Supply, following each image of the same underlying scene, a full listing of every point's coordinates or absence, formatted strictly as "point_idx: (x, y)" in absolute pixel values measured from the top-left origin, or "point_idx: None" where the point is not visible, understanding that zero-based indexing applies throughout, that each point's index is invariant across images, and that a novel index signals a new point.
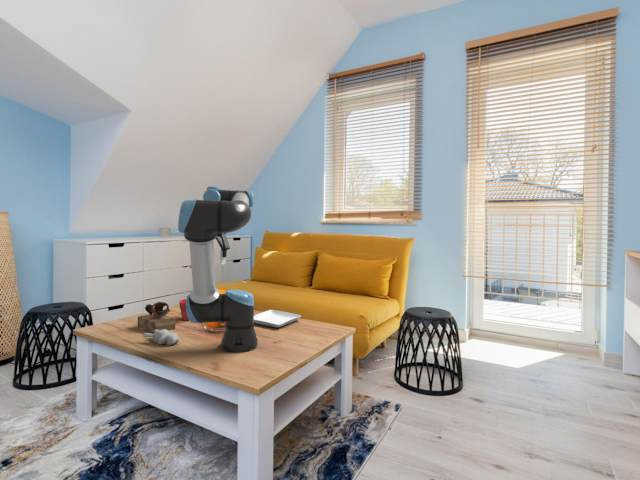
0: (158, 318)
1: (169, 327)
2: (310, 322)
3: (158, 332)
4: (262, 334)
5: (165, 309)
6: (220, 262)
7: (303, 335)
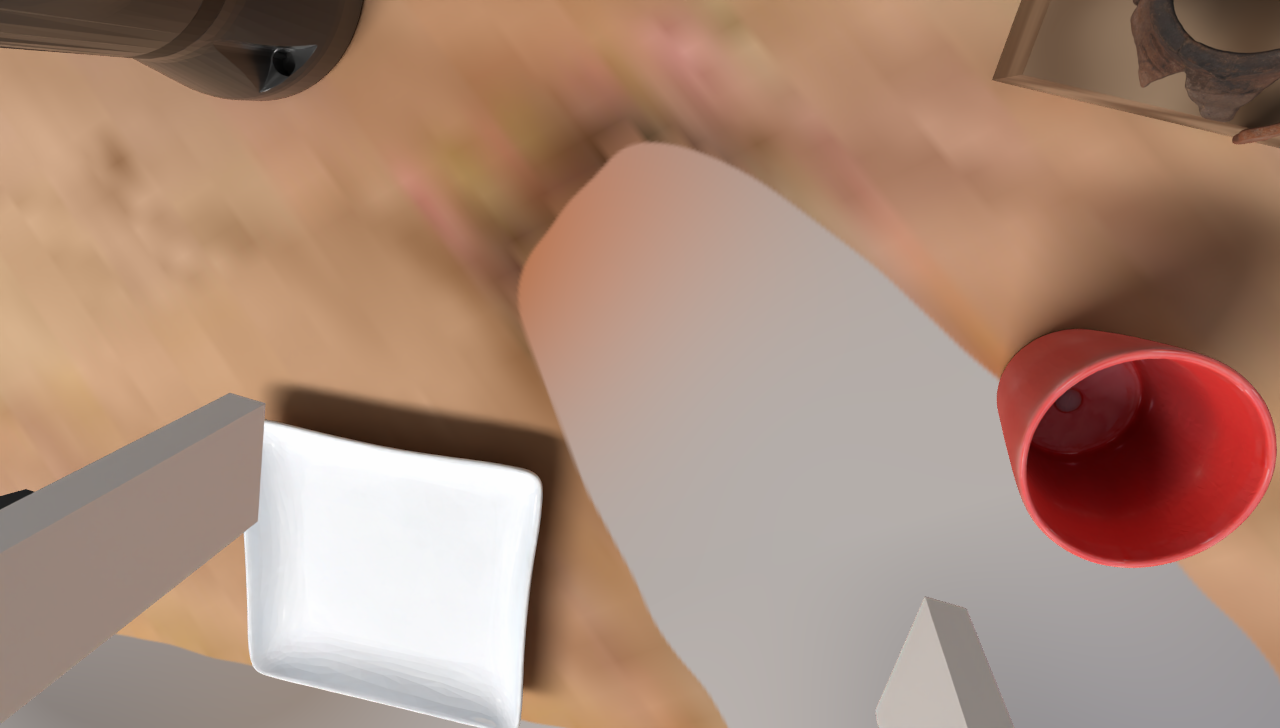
0: None
1: (1023, 11)
2: (208, 627)
3: None
4: (287, 271)
5: None
6: (227, 417)
7: (77, 366)
